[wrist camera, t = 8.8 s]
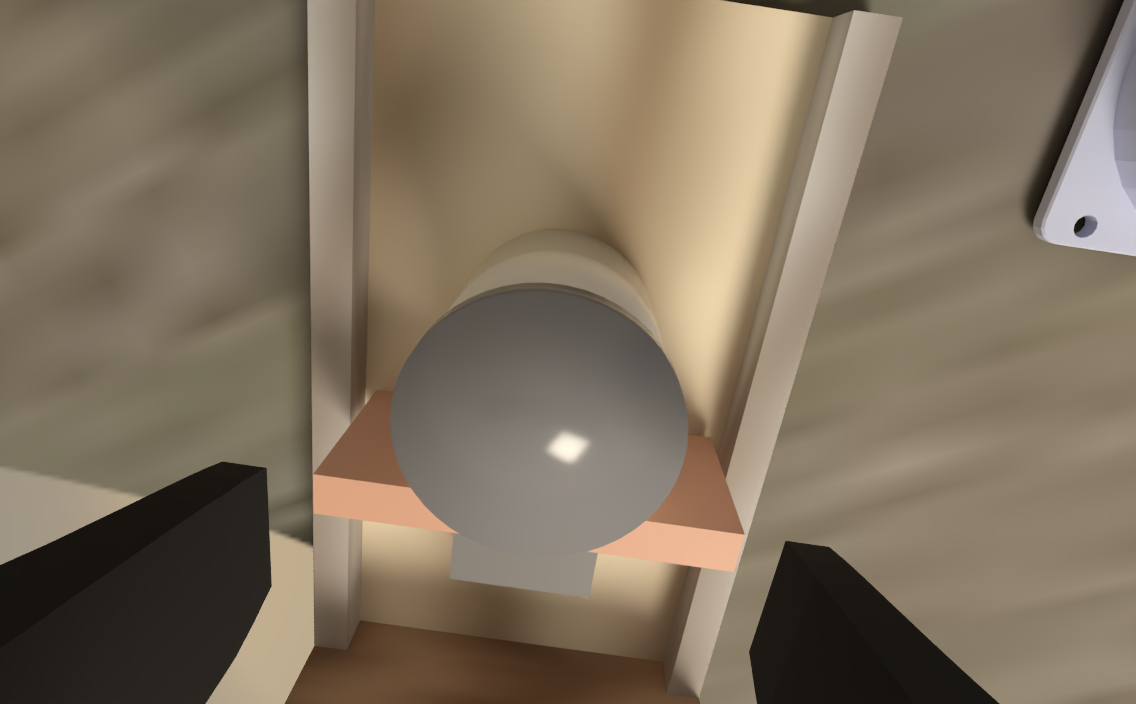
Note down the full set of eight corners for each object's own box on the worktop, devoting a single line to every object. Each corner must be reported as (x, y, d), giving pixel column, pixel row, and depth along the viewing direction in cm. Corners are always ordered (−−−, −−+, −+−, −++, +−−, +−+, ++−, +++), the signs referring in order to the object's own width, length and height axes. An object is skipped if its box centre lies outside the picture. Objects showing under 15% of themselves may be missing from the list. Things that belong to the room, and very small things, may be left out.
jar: (666, 230, 16) (707, 302, 10) (646, 418, 18) (671, 565, 12) (456, 219, 16) (381, 283, 10) (459, 406, 18) (397, 548, 12)
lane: (872, 26, 14) (1001, -10, 10) (685, 680, 21) (709, 832, 17) (335, -58, 14) (213, -133, 9) (333, 632, 21) (263, 773, 17)
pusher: (711, 437, 17) (745, 534, 13) (674, 580, 19) (694, 703, 15) (376, 389, 17) (312, 474, 13) (372, 538, 19) (314, 651, 15)
